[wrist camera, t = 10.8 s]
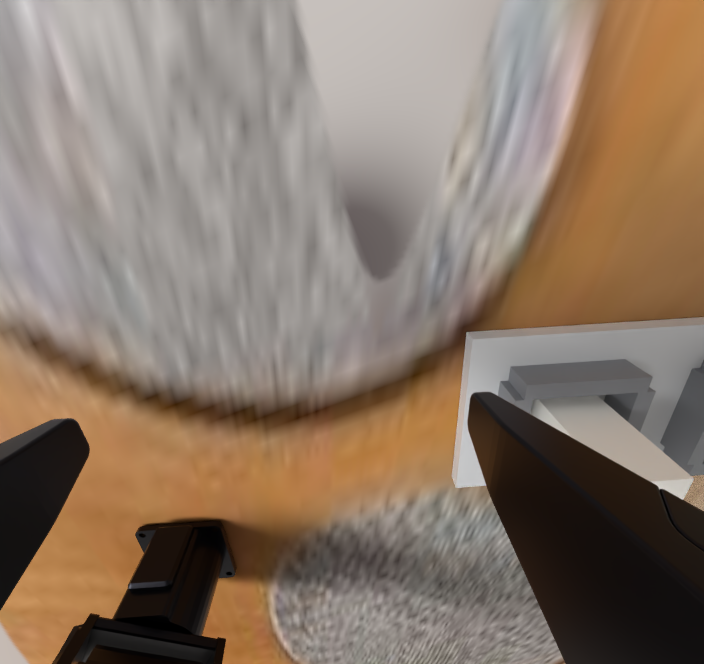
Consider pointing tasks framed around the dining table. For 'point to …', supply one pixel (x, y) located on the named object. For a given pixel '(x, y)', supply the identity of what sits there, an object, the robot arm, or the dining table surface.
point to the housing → (594, 380)
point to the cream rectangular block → (612, 439)
